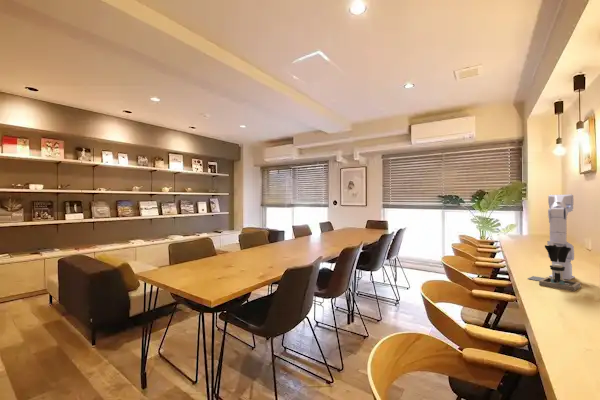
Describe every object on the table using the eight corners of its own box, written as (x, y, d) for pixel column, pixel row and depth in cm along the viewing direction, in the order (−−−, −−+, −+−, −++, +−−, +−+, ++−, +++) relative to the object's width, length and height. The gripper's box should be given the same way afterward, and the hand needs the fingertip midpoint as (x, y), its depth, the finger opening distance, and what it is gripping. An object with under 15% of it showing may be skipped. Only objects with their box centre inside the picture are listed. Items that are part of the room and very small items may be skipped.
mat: (533, 276, 148) (533, 276, 148) (550, 279, 143) (550, 278, 143) (527, 279, 144) (527, 278, 144) (545, 282, 138) (545, 281, 138)
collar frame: (547, 281, 140) (547, 277, 140) (580, 287, 130) (580, 282, 130) (539, 285, 134) (539, 280, 134) (573, 291, 124) (573, 286, 124)
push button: (569, 286, 131) (569, 264, 131) (569, 288, 128) (568, 266, 128) (550, 283, 136) (550, 262, 136) (549, 285, 132) (549, 264, 132)
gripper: (560, 231, 127) (561, 262, 125) (576, 234, 133) (576, 263, 132) (541, 231, 133) (542, 260, 132) (557, 233, 139) (557, 261, 138)
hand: (557, 262), depth 132 cm, fingers open, 7 cm apart
